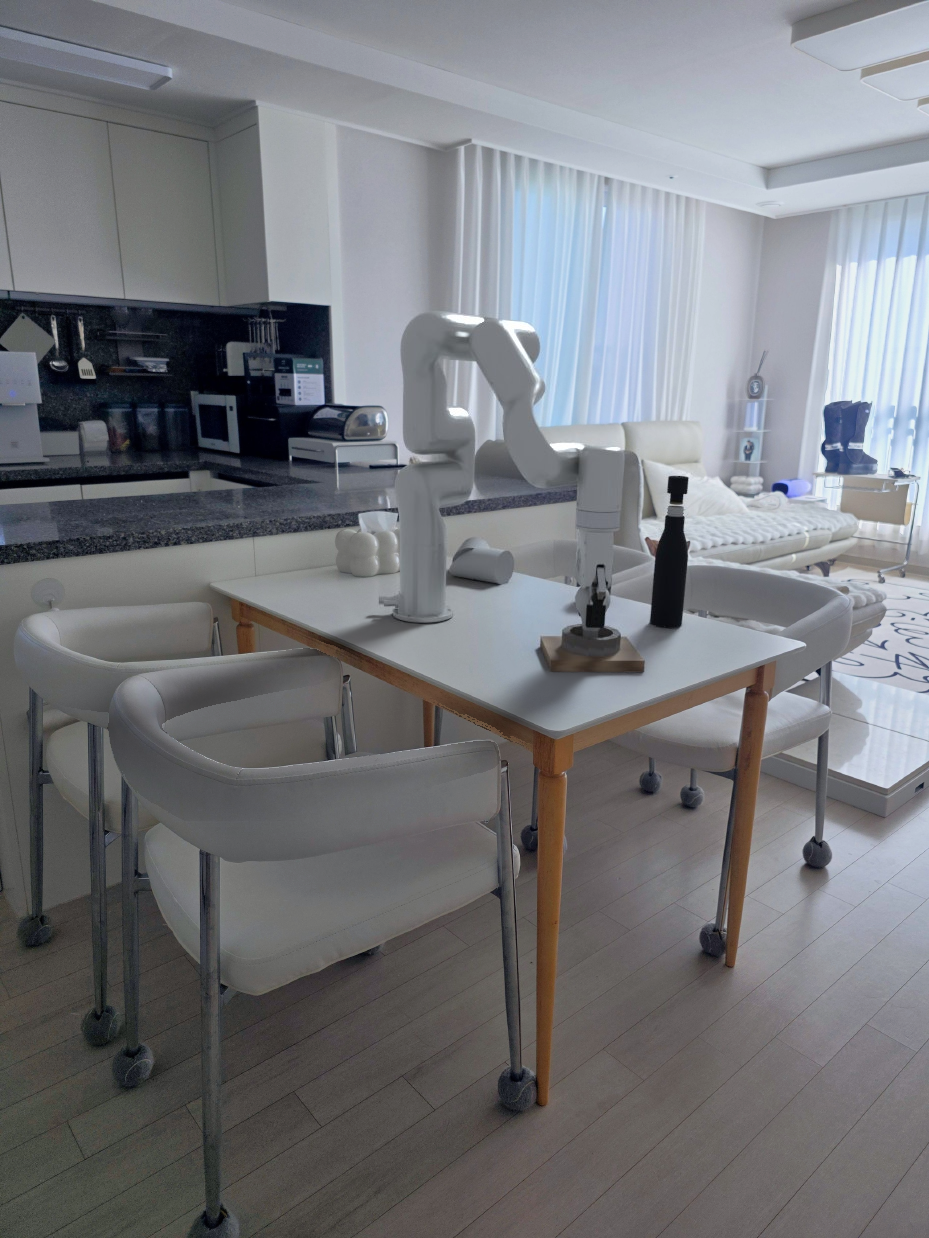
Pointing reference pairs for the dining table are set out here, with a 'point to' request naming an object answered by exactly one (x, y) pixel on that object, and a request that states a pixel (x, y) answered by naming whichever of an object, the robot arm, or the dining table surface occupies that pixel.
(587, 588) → the lightbulb
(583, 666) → the socket base
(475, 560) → the l-shaped cylinder
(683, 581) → the black water bottle
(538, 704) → the dining table surface
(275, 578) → the dining table surface
